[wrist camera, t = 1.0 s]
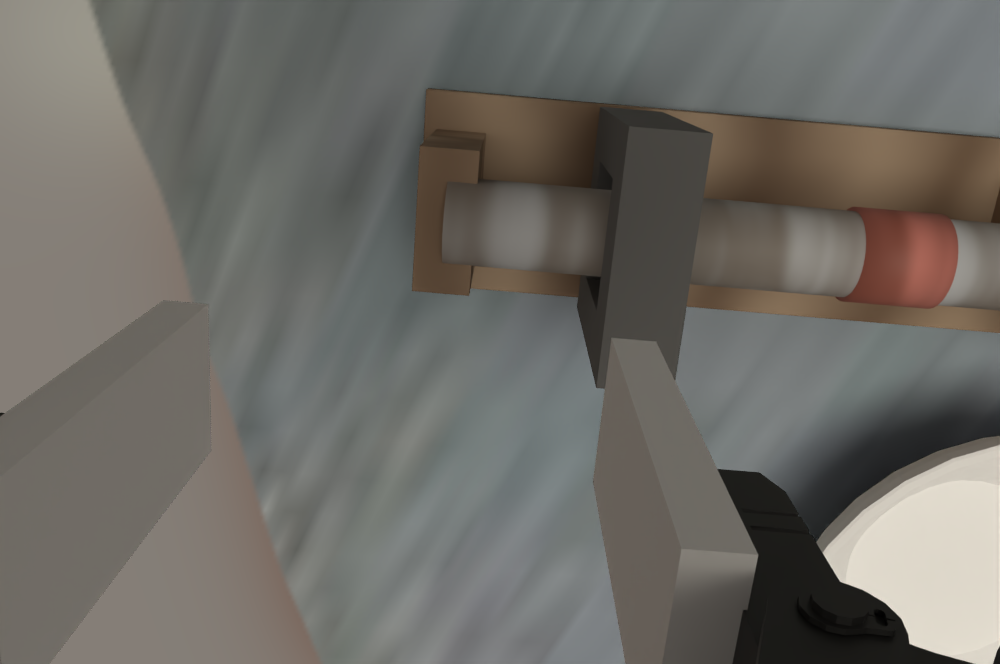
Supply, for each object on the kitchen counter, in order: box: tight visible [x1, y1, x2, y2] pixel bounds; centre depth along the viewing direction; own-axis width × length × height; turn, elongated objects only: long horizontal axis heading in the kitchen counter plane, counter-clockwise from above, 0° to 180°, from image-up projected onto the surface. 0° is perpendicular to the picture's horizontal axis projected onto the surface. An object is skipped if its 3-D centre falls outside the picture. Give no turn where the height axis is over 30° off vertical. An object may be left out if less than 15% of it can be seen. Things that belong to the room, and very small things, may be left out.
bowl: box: [816, 436, 1000, 664], centre depth 39 cm, size 20×20×7 cm
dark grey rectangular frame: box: [577, 107, 713, 389], centre depth 30 cm, size 2×8×9 cm, turn 175°
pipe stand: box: [412, 88, 1000, 333], centre depth 33 cm, size 26×8×9 cm, turn 85°
